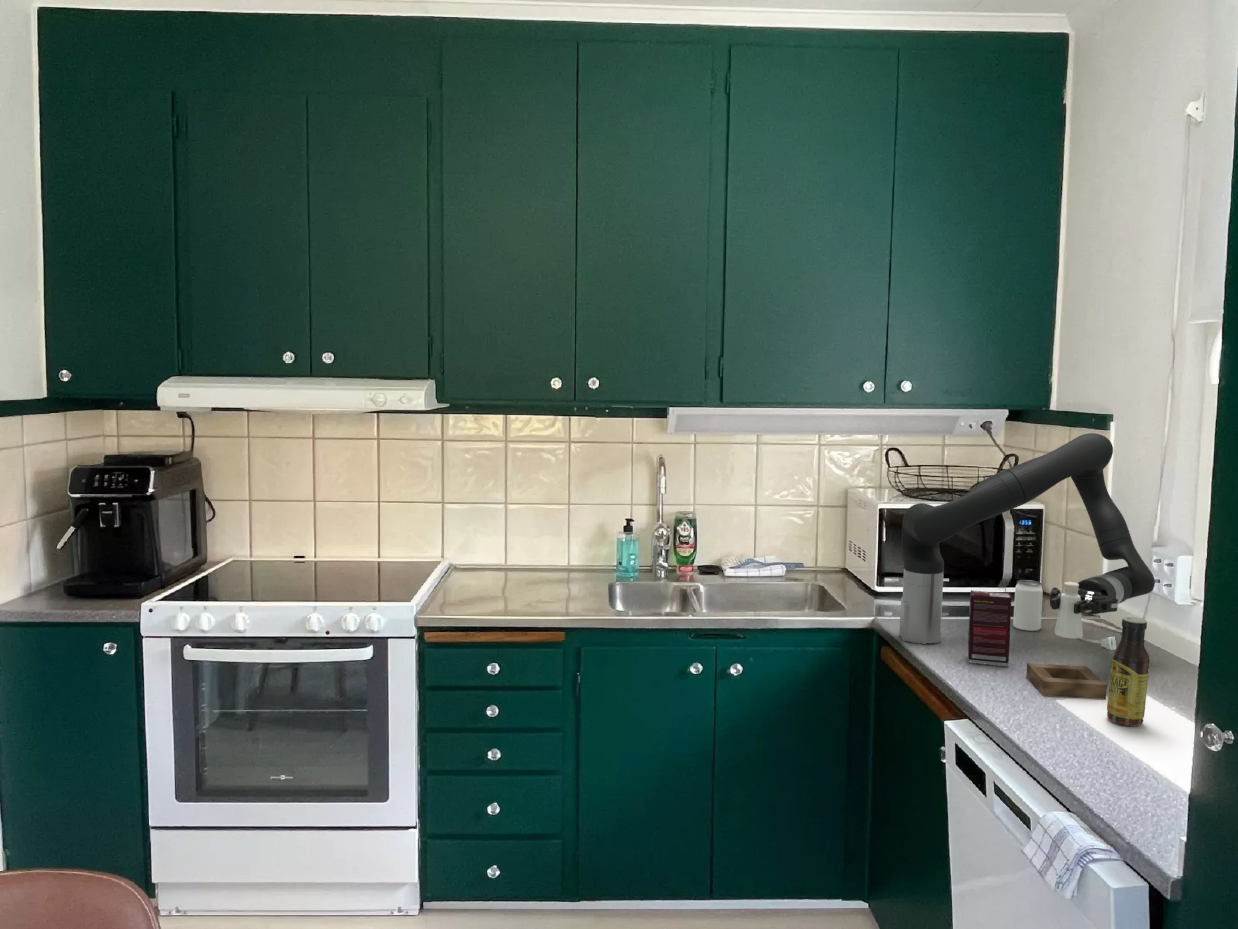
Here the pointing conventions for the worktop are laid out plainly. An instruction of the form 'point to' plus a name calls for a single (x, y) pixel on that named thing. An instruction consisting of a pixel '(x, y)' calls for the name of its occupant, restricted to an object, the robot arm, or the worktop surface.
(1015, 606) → the can
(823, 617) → the worktop surface
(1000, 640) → the supplement box
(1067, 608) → the pepper shaker
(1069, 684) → the socket block
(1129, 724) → the sauce bottle
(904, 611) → the robot arm
